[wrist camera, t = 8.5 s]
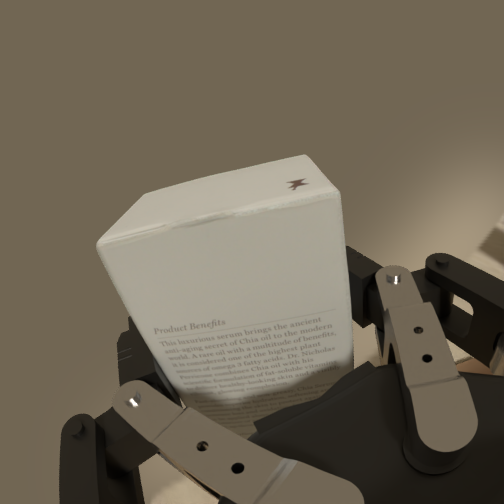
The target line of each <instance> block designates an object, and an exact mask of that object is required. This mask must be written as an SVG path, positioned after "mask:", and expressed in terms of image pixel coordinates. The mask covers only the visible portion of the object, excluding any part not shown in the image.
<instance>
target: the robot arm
mask: <svg viewBox="0 0 504 504" xmlns="http://www.w3.org/2000/svg"><path fill="white" fill-rule="evenodd" d="M346 257H347V266H348V274H349V286H350V298H351V313H352V319H353V320H354V321H355V322H356V323H357V324H359V325H360V326H361V327H362V328H365V327H366V326H368V325H370V324H371V323H373V324H375V334H376V339H377V344H378V351H379V356H380V362H381V366H378V367H374V366H373V365H372V364H371V363H370V362H369V361H367V362H366V363H364V364H362V365H361V366H359V367H357V368H356V369H354V370H352V371H351V372H349V373H347V374H346V375H344V376H343V377H341V378H340V379H339V380H338V381H337V382H336V383H335V384H334V385H333V386H332V387H331V388H330V389H328V390H327V391H326V392H325V393H324V394H323V395H322V396H321V397H319V398H317V399H314V400H311V401H307V402H304V403H300V404H297V405H293V406H289V407H285V408H282V409H280V410H278V411H276V412H274V413H272V414H270V415H268V416H266V417H263V418H261V419H259V420H257V421H255V422H253V424H254V426H255V428H256V430H257V431H256V432H255V433H253V434H252V435H251V436H250V437H249V438H248V439H247V440H246V439H245V438H243V437H241V436H239V435H237V434H235V433H234V432H232V431H230V430H228V429H226V428H225V427H223V426H221V425H219V424H218V423H216V422H214V421H213V420H211V419H209V418H207V417H206V416H204V415H203V414H201V413H199V412H198V411H196V410H194V409H193V408H191V407H186V408H185V409H183V407H182V405H181V401H180V398H179V396H178V394H177V393H176V391H175V390H174V388H173V386H172V385H171V383H170V382H169V380H168V379H167V377H166V376H165V374H164V372H163V371H162V369H161V367H160V366H159V364H158V363H157V361H156V359H155V358H154V356H153V354H152V353H151V351H150V349H149V347H148V346H147V344H146V342H145V341H144V339H143V337H142V336H141V334H140V332H139V330H138V329H137V327H136V325H135V323H134V322H133V320H132V318H131V316H129V317H128V321H129V330H128V331H126V332H123V333H121V335H120V337H119V340H118V342H117V352H118V369H119V381H120V388H119V389H118V390H117V391H116V392H115V394H114V396H113V400H112V405H113V406H112V407H111V408H110V409H109V410H108V411H106V412H105V413H103V414H102V415H100V416H99V417H97V418H96V419H93V418H92V417H91V416H90V415H88V414H78V415H75V416H73V417H72V418H70V419H69V420H68V421H67V422H66V424H65V425H64V427H63V429H62V433H61V446H60V471H59V472H60V473H59V474H60V475H59V492H60V494H59V495H60V504H145V502H144V497H143V491H142V486H141V480H140V474H139V467H138V466H139V465H140V464H142V463H143V462H145V461H146V460H147V459H149V458H151V457H152V456H153V455H155V454H156V453H157V454H158V455H159V456H161V457H162V458H163V459H164V460H166V461H167V462H168V463H169V464H171V465H172V466H173V467H174V468H176V469H177V470H178V471H179V472H181V473H182V474H183V475H185V476H186V477H187V478H189V479H190V480H191V481H193V482H194V483H195V484H196V485H198V486H199V487H200V488H202V489H203V490H204V491H206V492H207V493H209V494H210V495H211V496H213V497H214V498H216V499H217V500H219V502H218V504H504V281H502V280H500V279H498V278H496V277H494V276H492V275H490V274H488V273H486V272H484V271H482V270H480V269H478V268H476V267H474V266H472V265H470V264H468V263H466V262H464V261H462V260H460V259H458V258H456V257H454V256H452V255H449V254H445V253H435V254H432V255H430V256H429V257H427V259H426V265H425V268H424V269H421V270H417V271H414V272H410V271H409V270H408V269H406V268H404V267H401V266H387V267H382V266H381V265H379V264H377V263H375V262H374V261H372V260H371V259H369V258H367V257H366V256H363V255H362V254H361V253H359V252H357V251H356V250H354V249H352V248H351V247H349V246H346ZM454 294H455V295H457V296H458V297H460V298H462V299H464V300H465V301H467V302H469V303H470V304H471V306H472V308H473V316H472V315H470V314H469V313H467V312H465V311H464V310H462V309H460V308H459V307H457V306H455V305H454V304H452V303H453V298H454ZM446 339H448V340H449V341H451V342H452V343H454V344H455V345H457V346H458V347H459V348H461V349H462V350H464V351H465V352H467V353H468V354H470V355H471V356H472V357H474V358H475V359H477V360H478V361H480V362H481V363H482V364H484V365H485V366H487V367H488V368H489V369H490V370H491V372H492V374H493V375H490V374H480V373H470V372H461V371H457V368H456V365H455V362H454V359H453V356H452V353H451V351H450V348H449V345H448V343H447V340H446Z"/></svg>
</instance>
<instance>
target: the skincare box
mask: <svg viewBox="0 0 504 504" xmlns="http://www.w3.org/2000/svg"><path fill="white" fill-rule="evenodd" d="M96 248H97V252H98V254H99V256H100V258H101V260H102V262H103V264H104V266H105V268H106V270H107V272H108V274H109V276H110V278H111V280H112V282H113V284H114V286H115V288H116V290H117V291H118V293H119V295H120V297H121V299H122V301H123V303H124V305H125V307H126V309H127V310H128V312H129V314H130V316H131V318H132V320H133V322H134V323H135V325H136V327H137V329H138V330H139V332H140V334H141V336H142V337H143V339H144V341H145V342H146V344H147V346H148V347H149V349H150V351H151V353H152V354H153V356H154V358H155V359H156V361H157V363H158V364H159V366H160V367H161V369H162V371H163V372H164V374H165V376H166V377H167V379H168V380H169V382H170V383H171V385H172V386H173V388H174V390H175V391H176V393H177V394H178V396H179V397H180V398H181V400H182V401H183V403H184V405H185V406H186V407H191V408H193V409H194V410H196V411H198V412H199V413H201V414H203V415H204V416H206V417H207V418H209V419H211V420H213V421H214V422H216V423H218V424H219V425H221V426H223V427H225V428H226V429H228V430H230V431H232V432H234V433H235V434H237V435H239V436H241V437H243V438H245V439H246V440H247V439H248V438H249V437H250V436H251V435H252V434H253V433H255V432H256V431H257V430H256V428H255V426H254V424H253V422H255V421H257V420H259V419H261V418H263V417H266V416H268V415H270V414H272V413H274V412H276V411H278V410H280V409H282V408H285V407H289V406H293V405H297V404H300V403H304V402H307V401H311V400H314V399H317V398H319V397H321V396H322V395H323V394H324V393H325V392H326V391H327V390H328V389H330V388H331V387H332V386H333V385H334V384H335V383H336V382H337V381H338V380H339V379H340V378H341V377H343V376H344V375H346V374H347V373H349V372H351V371H352V370H354V356H353V330H352V313H351V298H350V286H349V274H348V266H347V257H346V246H345V235H344V225H343V216H342V206H341V196H340V192H339V190H338V189H337V188H336V187H335V186H333V184H332V183H331V182H330V181H329V180H328V179H327V178H326V177H325V175H324V174H323V173H322V172H321V171H320V170H319V169H318V167H317V166H316V165H315V164H314V163H313V161H312V160H311V159H310V158H309V157H308V156H307V155H300V156H295V157H290V158H286V159H282V160H277V161H273V162H268V163H264V164H260V165H256V166H251V167H247V168H243V169H238V170H234V171H229V172H224V173H220V174H216V175H211V176H208V177H203V178H199V179H195V180H192V181H188V182H184V183H181V184H177V185H174V186H170V187H166V188H163V189H160V190H157V191H153V192H150V193H146V194H144V195H143V196H142V197H141V198H140V199H139V200H138V201H137V202H136V203H135V204H134V205H133V206H132V207H131V208H130V209H129V210H128V211H127V212H126V213H125V214H124V215H123V216H122V217H121V218H120V219H119V220H118V221H117V222H116V223H115V224H114V225H113V226H112V227H111V228H110V229H109V230H108V231H107V232H106V233H105V234H104V235H103V236H102V237H101V238H100V239H99V241H98V242H97V244H96Z"/></svg>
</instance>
